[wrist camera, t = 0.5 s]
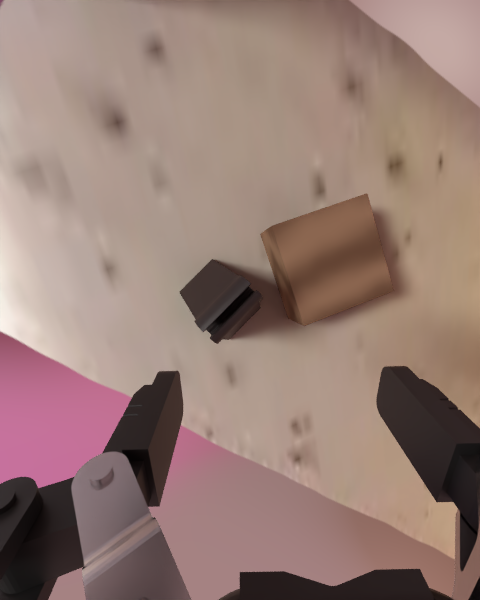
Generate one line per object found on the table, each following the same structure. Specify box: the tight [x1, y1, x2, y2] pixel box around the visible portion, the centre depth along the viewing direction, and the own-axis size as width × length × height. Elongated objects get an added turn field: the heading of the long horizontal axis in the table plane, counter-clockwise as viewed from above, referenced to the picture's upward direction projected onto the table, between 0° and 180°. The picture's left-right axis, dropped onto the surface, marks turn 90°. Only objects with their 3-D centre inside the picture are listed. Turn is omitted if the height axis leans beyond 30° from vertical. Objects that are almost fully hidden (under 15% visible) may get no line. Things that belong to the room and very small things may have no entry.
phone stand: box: [180, 259, 263, 344], centre depth 30 cm, size 9×6×12 cm, turn 45°
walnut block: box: [260, 194, 394, 326], centre depth 34 cm, size 12×12×6 cm
